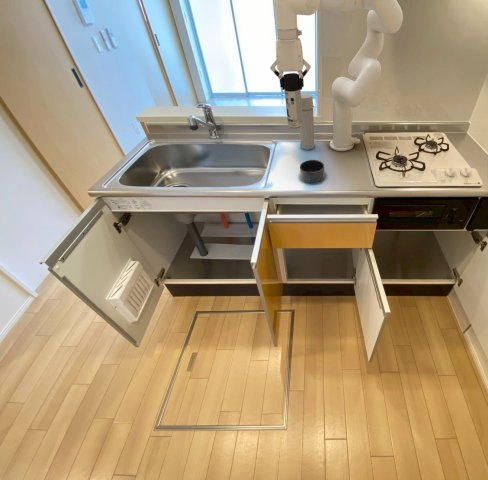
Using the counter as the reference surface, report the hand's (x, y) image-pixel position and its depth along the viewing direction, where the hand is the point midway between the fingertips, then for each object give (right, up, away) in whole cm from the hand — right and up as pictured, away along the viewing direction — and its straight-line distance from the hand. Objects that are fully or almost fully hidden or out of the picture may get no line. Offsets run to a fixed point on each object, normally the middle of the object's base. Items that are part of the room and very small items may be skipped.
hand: (292, 88), depth 109 cm
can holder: (+8, -34, +11) cm, 36 cm away
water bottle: (+5, -13, +31) cm, 34 cm away
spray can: (0, -11, +11) cm, 15 cm away
